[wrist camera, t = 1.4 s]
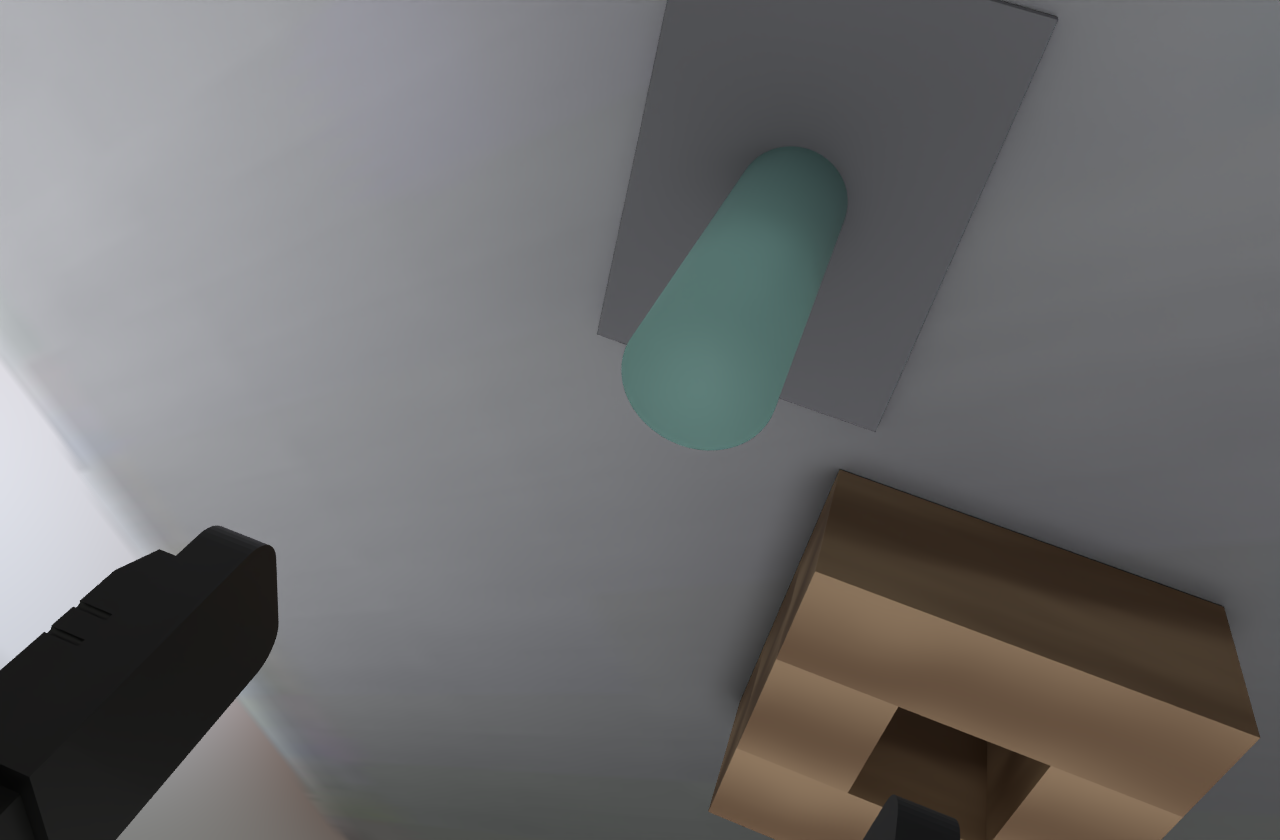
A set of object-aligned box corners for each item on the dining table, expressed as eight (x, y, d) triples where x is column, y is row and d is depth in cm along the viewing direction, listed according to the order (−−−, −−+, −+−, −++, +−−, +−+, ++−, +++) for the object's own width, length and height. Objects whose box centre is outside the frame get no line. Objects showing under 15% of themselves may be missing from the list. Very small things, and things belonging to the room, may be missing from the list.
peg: (753, 131, 25) (638, 287, 17) (863, 166, 25) (798, 341, 17) (724, 234, 27) (608, 418, 19) (827, 268, 27) (752, 471, 19)
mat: (689, -88, 23) (685, -87, 23) (1057, 17, 22) (1057, 20, 22) (601, 328, 30) (597, 334, 30) (876, 425, 29) (875, 432, 29)
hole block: (839, 469, 30) (815, 571, 26) (1224, 607, 29) (1260, 737, 25) (739, 703, 37) (708, 811, 33) (1044, 823, 36) (1050, 953, 32)
